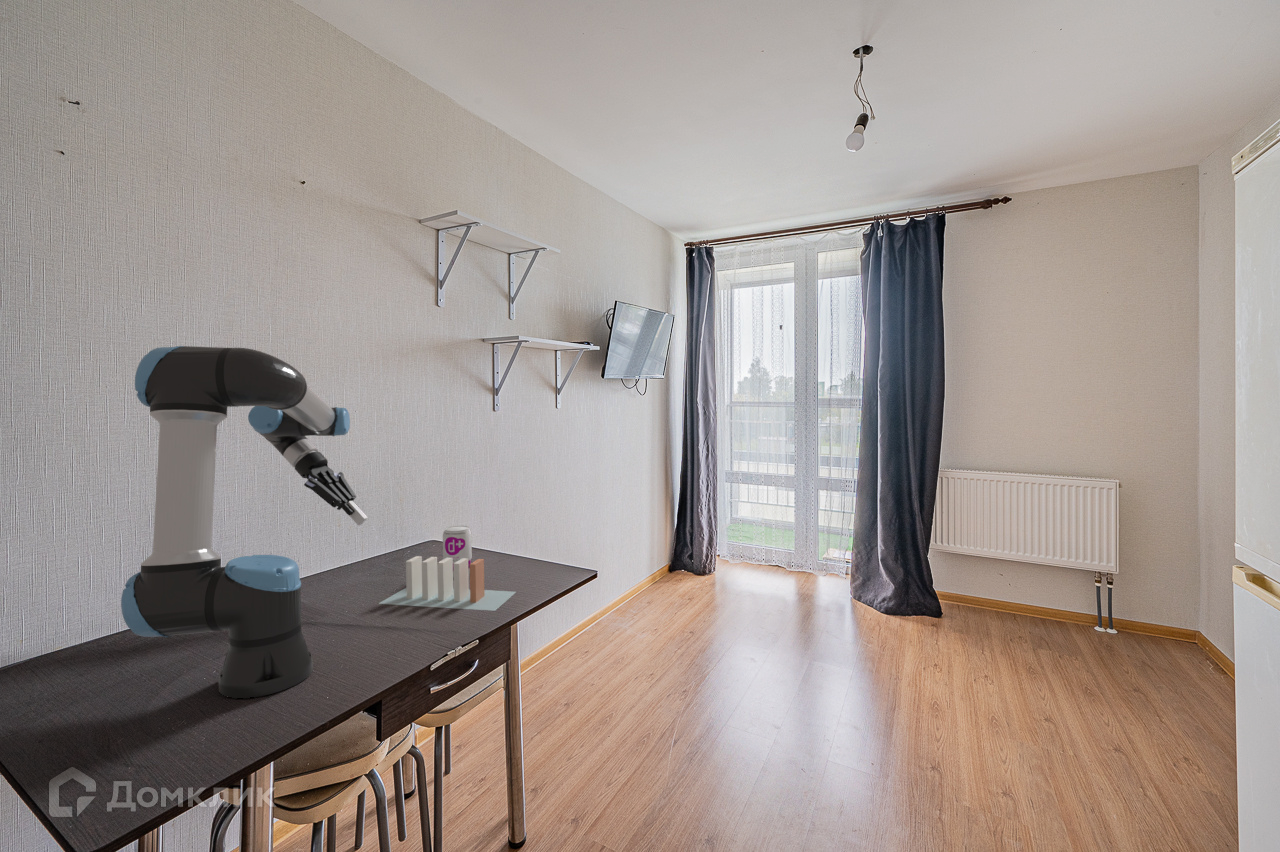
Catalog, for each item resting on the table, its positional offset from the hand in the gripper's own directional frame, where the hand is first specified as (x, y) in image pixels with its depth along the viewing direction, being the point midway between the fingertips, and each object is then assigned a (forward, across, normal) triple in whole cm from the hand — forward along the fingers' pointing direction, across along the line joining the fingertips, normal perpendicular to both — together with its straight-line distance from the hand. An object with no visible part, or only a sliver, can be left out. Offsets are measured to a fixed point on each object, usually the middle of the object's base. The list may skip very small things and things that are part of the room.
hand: (363, 521), depth 152 cm
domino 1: (+24, 0, -3) cm, 25 cm away
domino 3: (+31, 0, +3) cm, 31 cm away
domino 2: (+28, 0, 0) cm, 28 cm away
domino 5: (+37, 0, +10) cm, 38 cm away
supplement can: (+27, -20, -3) cm, 34 cm away
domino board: (+32, 0, +3) cm, 32 cm away
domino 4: (+34, 0, +6) cm, 35 cm away
